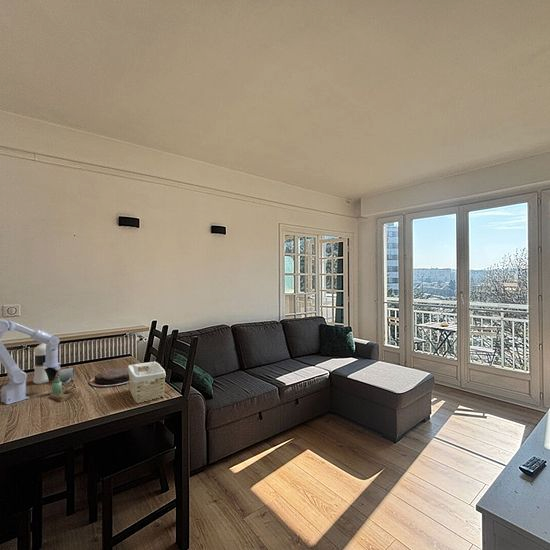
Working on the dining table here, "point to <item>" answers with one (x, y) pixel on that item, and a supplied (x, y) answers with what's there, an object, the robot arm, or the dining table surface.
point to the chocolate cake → (111, 378)
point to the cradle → (68, 396)
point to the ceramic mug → (66, 375)
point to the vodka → (40, 365)
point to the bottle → (57, 386)
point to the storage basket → (146, 381)
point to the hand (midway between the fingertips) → (51, 380)
